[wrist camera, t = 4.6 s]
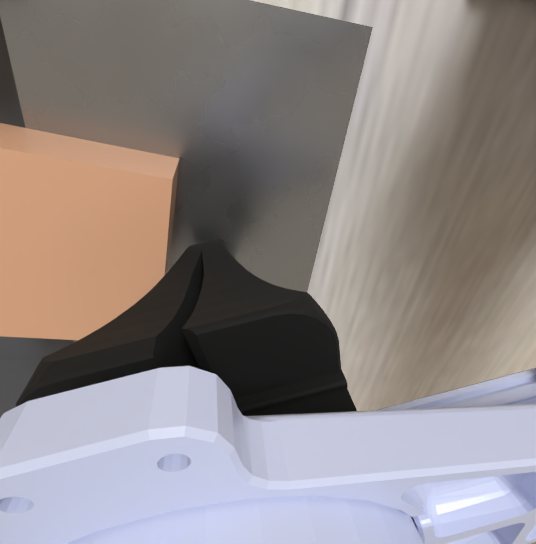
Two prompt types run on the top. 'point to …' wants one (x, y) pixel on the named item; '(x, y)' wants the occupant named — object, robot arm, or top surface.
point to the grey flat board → (203, 109)
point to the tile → (79, 231)
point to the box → (17, 350)
